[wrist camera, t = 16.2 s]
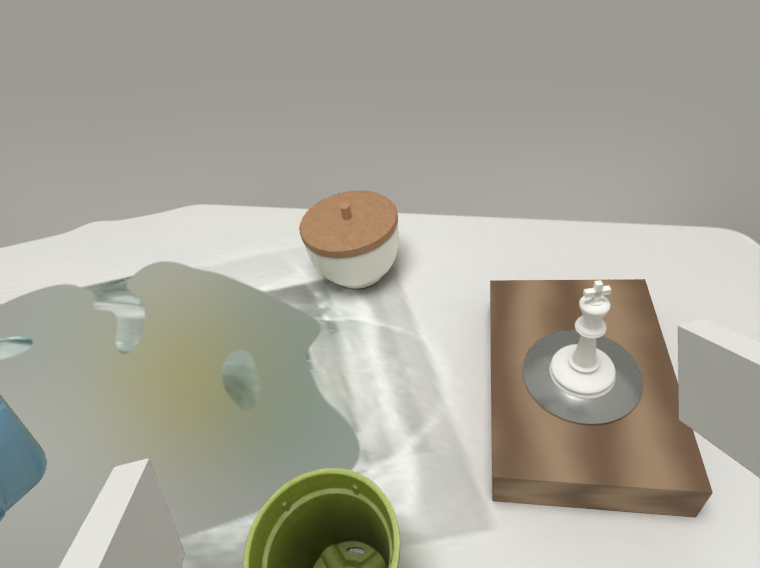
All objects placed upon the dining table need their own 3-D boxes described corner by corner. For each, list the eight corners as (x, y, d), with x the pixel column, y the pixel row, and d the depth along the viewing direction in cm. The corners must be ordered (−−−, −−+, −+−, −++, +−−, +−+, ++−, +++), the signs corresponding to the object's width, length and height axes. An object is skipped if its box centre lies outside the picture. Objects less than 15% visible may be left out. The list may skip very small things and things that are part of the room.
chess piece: (541, 353, 43) (550, 264, 36) (600, 344, 42) (620, 253, 36) (561, 403, 39) (574, 315, 32) (626, 393, 39) (653, 302, 32)
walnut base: (492, 500, 39) (492, 475, 36) (490, 308, 53) (490, 278, 50) (695, 517, 36) (713, 490, 33) (636, 308, 50) (645, 277, 47)
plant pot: (407, 680, 32) (388, 650, 26) (267, 658, 34) (219, 625, 28) (421, 525, 38) (407, 473, 32) (302, 514, 40) (269, 463, 34)
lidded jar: (352, 318, 55) (333, 252, 48) (298, 274, 61) (276, 211, 55) (424, 267, 59) (416, 200, 52) (367, 230, 65) (353, 167, 59)
